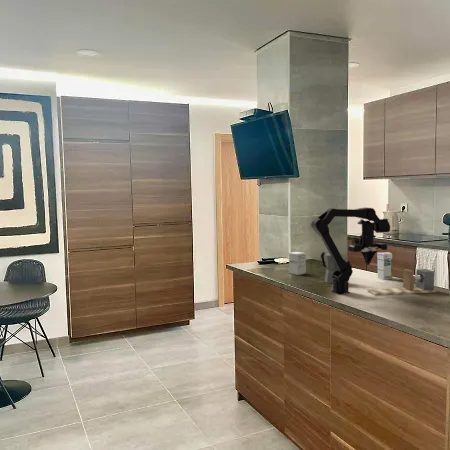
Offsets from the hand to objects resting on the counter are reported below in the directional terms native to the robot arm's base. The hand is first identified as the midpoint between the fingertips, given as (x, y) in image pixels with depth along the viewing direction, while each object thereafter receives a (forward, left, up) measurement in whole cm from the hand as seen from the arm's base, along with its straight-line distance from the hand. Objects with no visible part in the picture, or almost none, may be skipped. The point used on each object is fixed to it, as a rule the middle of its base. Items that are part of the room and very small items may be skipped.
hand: (367, 264), depth 219 cm
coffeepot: (-5, +26, -13) cm, 30 cm away
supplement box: (-12, +54, -13) cm, 57 cm away
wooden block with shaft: (+22, -10, -12) cm, 26 cm away
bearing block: (+25, -10, -12) cm, 30 cm away
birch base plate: (+13, -8, -13) cm, 20 cm away
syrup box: (+26, +22, -13) cm, 36 cm away
